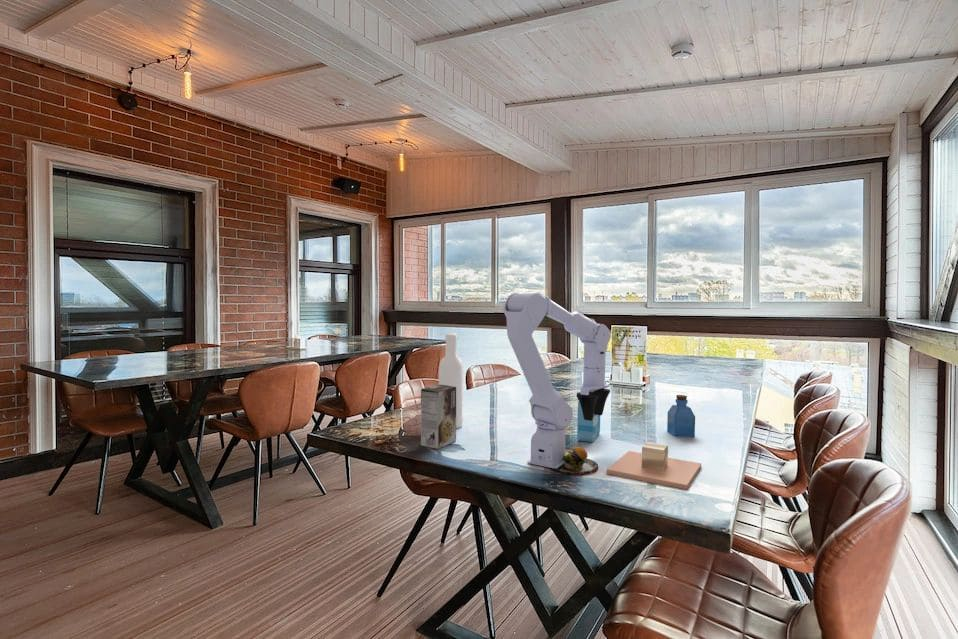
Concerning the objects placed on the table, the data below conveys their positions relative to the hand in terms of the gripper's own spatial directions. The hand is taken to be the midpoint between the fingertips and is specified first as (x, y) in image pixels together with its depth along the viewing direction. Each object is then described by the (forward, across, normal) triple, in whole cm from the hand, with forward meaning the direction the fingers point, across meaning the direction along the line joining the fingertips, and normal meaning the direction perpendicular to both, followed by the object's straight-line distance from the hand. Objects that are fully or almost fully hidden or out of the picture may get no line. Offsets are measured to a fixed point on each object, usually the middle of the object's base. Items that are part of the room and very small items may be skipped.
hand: (593, 417), depth 137 cm
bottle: (+10, 0, +48) cm, 49 cm away
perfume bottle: (+10, +34, -16) cm, 39 cm away
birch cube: (+8, -6, -18) cm, 21 cm away
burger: (+11, -15, -1) cm, 18 cm away
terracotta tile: (+9, -6, -18) cm, 21 cm away
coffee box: (+10, -18, +39) cm, 44 cm away
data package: (+10, +13, +6) cm, 17 cm away
